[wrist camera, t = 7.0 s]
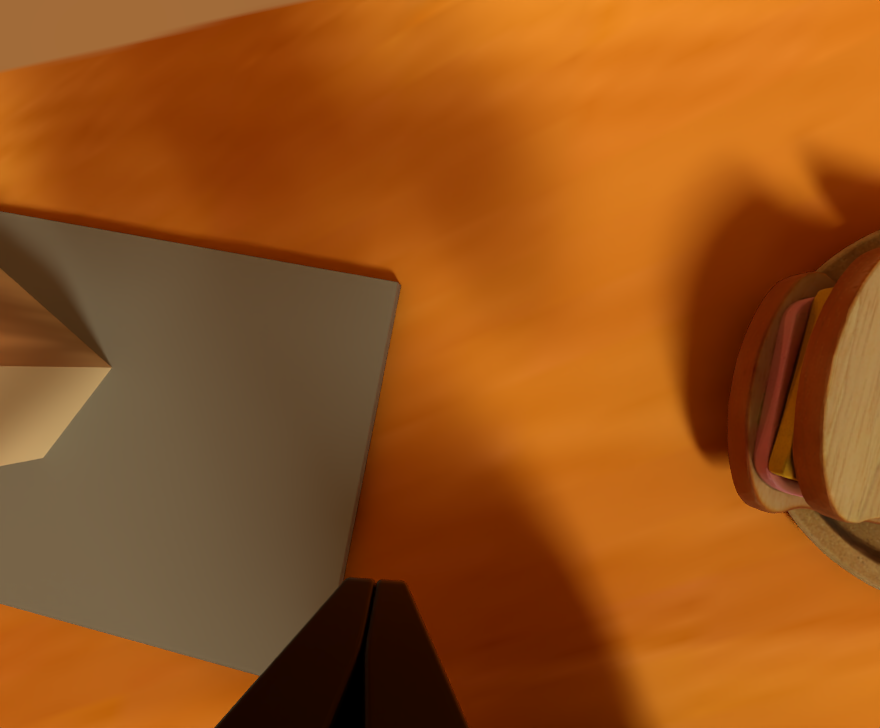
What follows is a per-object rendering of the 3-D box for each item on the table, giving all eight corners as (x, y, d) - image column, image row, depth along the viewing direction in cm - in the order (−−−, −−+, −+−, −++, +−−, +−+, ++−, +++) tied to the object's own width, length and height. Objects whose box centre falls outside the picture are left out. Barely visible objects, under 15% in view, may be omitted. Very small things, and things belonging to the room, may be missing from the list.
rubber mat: (323, 681, 17) (317, 691, 17) (-112, 561, 19) (-131, 567, 19) (400, 285, 17) (397, 282, 17) (-43, 205, 19) (-60, 200, 19)
